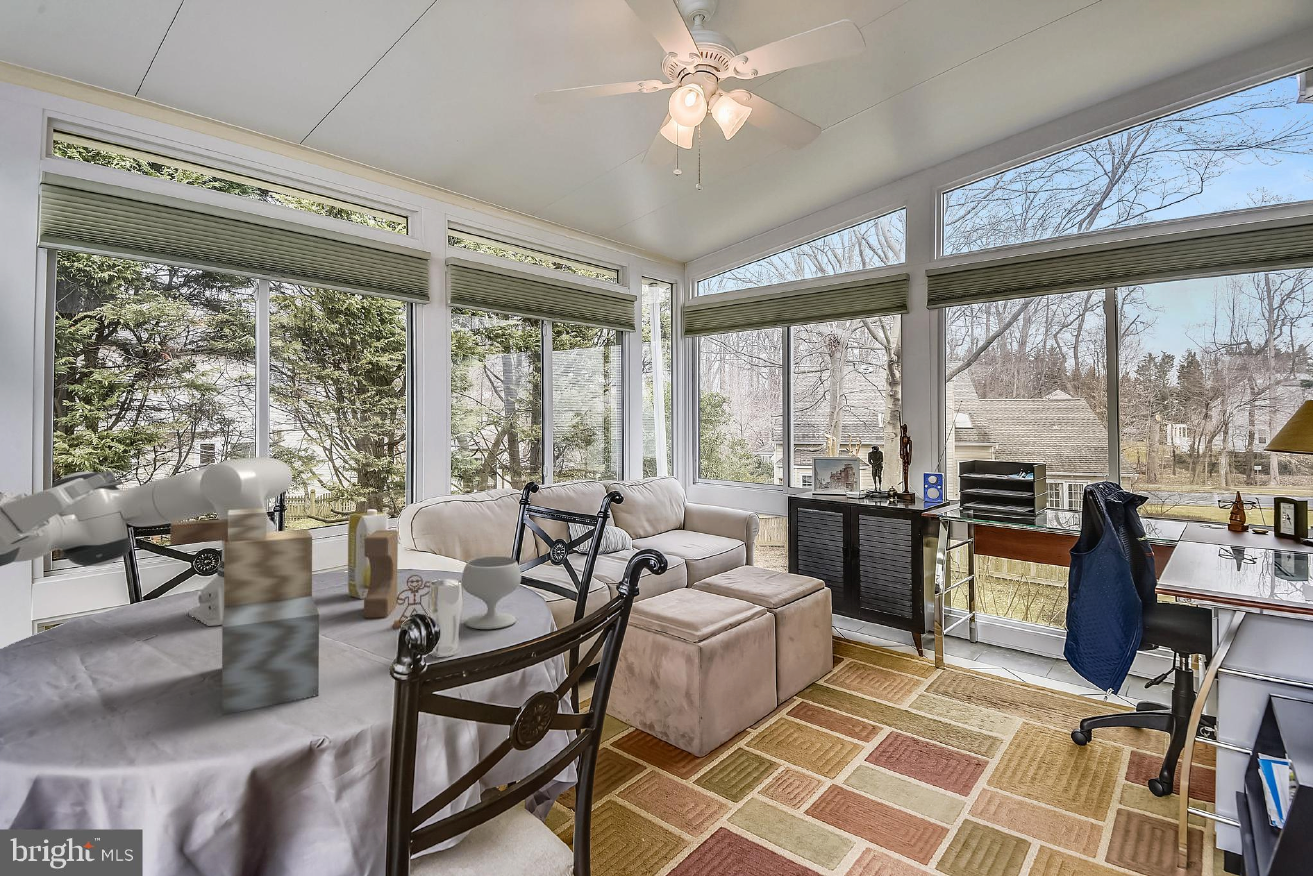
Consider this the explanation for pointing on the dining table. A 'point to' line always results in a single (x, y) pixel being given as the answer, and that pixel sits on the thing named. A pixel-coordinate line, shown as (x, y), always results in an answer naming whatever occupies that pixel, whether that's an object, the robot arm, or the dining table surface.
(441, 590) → the beer glass
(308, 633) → the step stand
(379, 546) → the decorative block
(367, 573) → the juice carton
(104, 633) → the dining table surface
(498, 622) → the chalice
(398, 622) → the gingerbread man figurine
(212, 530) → the brown rectangular block
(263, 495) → the robot arm
